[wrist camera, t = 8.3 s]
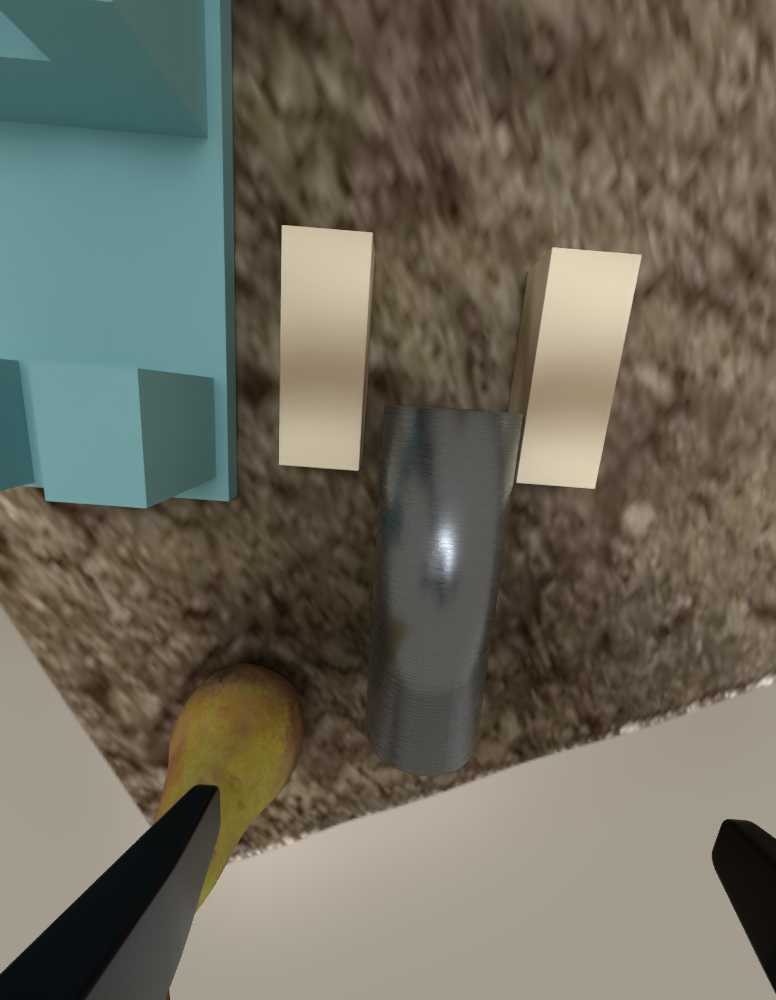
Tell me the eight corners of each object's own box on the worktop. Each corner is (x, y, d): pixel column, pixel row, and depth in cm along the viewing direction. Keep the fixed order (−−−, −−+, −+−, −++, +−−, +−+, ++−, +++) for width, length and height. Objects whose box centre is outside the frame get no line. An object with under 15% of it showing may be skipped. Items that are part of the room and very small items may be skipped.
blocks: (298, 251, 16) (282, 225, 13) (603, 276, 16) (641, 254, 14) (294, 455, 18) (279, 464, 15) (567, 476, 18) (594, 488, 16)
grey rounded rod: (375, 403, 17) (399, 406, 12) (488, 410, 18) (551, 416, 13) (359, 691, 20) (372, 782, 16) (455, 685, 21) (495, 769, 16)
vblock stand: (-35, -39, 14) (-344, -357, 8) (230, -15, 14) (116, -311, 8) (34, 480, 18) (-135, 519, 12) (237, 495, 18) (165, 541, 12)
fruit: (311, 639, 20) (200, 974, 8) (316, 736, 21) (227, 1142, 10) (197, 639, 20) (-71, 973, 8) (210, 736, 21) (-5, 1140, 10)
